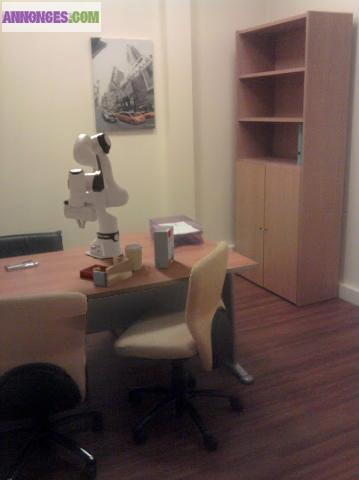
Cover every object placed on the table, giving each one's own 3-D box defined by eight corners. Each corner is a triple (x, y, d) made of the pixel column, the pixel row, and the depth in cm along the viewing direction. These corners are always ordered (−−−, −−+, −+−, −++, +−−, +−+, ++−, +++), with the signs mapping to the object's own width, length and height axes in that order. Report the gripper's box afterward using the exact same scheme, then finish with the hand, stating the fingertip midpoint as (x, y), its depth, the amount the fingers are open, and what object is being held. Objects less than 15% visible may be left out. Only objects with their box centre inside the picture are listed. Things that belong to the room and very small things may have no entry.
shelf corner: (93, 283, 227) (91, 265, 225) (116, 272, 241) (114, 256, 239) (109, 286, 222) (108, 269, 219) (132, 275, 236) (130, 258, 234)
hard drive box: (168, 268, 245) (167, 232, 239) (154, 268, 246) (152, 232, 241) (174, 259, 259) (173, 225, 254) (161, 259, 261) (159, 224, 255)
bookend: (94, 284, 225) (92, 271, 223) (96, 283, 226) (95, 270, 224) (105, 287, 221) (103, 273, 219) (107, 286, 223) (105, 272, 221)
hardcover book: (110, 285, 225) (110, 277, 224) (80, 278, 237) (79, 270, 236) (126, 277, 235) (126, 269, 234) (96, 271, 246) (95, 263, 245)
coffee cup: (146, 267, 248) (145, 245, 245) (134, 271, 242) (132, 249, 238) (134, 263, 254) (133, 243, 251) (122, 268, 247) (120, 247, 244)
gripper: (98, 202, 231) (101, 228, 235) (69, 198, 242) (72, 224, 246) (90, 204, 226) (92, 231, 230) (60, 201, 237) (63, 227, 241)
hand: (81, 228), depth 238 cm, fingers closed
